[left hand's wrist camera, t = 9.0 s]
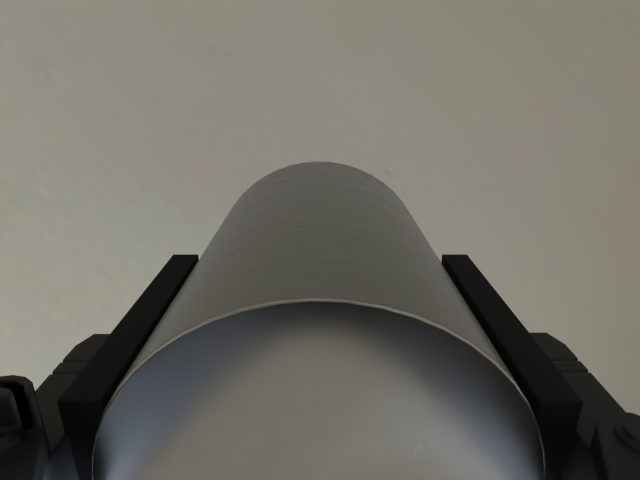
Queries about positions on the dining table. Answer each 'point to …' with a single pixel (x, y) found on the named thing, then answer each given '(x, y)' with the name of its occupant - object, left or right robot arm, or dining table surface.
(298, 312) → the canister
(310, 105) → the dining table surface
